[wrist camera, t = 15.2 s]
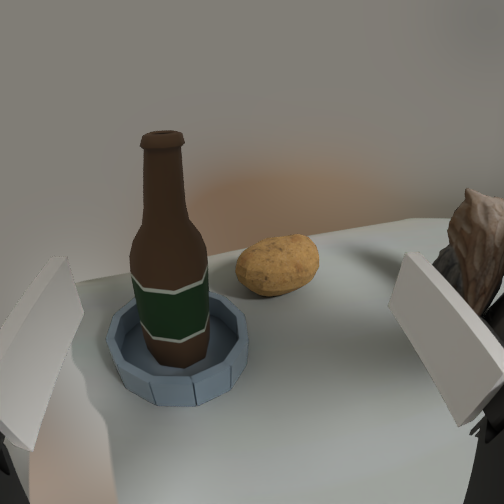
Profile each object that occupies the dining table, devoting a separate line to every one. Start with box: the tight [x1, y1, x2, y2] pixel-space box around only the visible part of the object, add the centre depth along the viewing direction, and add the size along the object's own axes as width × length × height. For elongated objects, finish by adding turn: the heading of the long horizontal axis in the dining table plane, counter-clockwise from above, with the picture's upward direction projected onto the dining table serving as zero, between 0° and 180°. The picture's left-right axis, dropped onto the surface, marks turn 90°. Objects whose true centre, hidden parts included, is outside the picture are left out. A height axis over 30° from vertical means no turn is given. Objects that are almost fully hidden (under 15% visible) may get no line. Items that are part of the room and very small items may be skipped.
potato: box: [235, 234, 319, 296], centre depth 47 cm, size 10×14×8 cm
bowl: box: [106, 291, 249, 406], centre depth 34 cm, size 16×16×4 cm
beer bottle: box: [129, 130, 210, 369], centre depth 29 cm, size 8×8×24 cm
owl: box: [432, 188, 504, 317], centre depth 41 cm, size 13×13×20 cm
